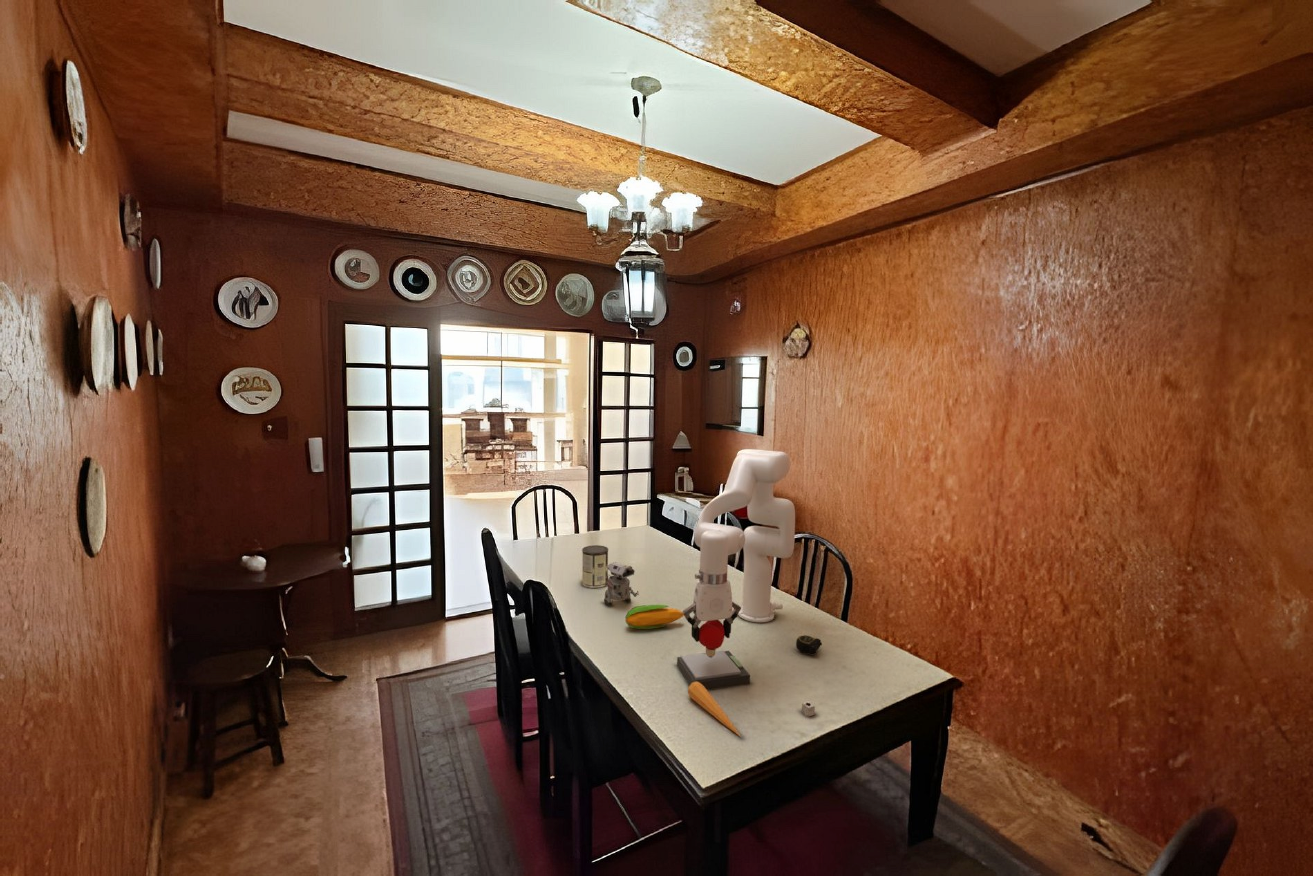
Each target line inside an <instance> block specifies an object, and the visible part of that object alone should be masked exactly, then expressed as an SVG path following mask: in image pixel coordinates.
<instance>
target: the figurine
mask: <svg viewBox="0 0 1313 876" xmlns="http://www.w3.org/2000/svg"><path fill="white" fill-rule="evenodd" d="M607 569H608V571H609V572H610V575H609V574H608V575H607V576H606V578H605V579H606V580H605V585H606V586H607V589H606V590H605V591H604V599H603V602H604V604H605V605H607V606H608V607H611V606H613V602H612V601H616V602H617V601H618V602H619V601H625V602H626V603H631V602H632V598H631V594H632V595H633V597H634V598H636V597H637V596H639V595H640V594H639V591H638V590H637V591H636V592H635V591H634V590H633V589H632V587H631V586H630V583H631V580H630V579H629V577H631V576H634V575H635V569H634V568H633V567H632V566H631V565H626V564H624V563H623V564H622V563H619V562H616V561H614V562H611V563H608V566H607Z"/></svg>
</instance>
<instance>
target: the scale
mask: <svg viewBox="0 0 1313 876" xmlns="http://www.w3.org/2000/svg"><path fill="white" fill-rule="evenodd" d="M676 658H677V659H676V666H677V668H678V669H679V671H680V672H681V674H682V675H683V677H684V678H685V681H686V682H687V683H688V685H689V686H690V685H691V684H692V683H693V682H696V681H697V682H699V683H701V684H702V685H703V686H704V687H705V688H706V690H707V691H708V690H709V691H710V690H715V689H716V690H717V689H723V688H728V687H735V686H736V687H737V686H743V685H750V684H751V674H750V673H749V671H747V669H746V668H745V667H744V665H743V664H742V663H741V662H740V661H739V659H738V658H737V657H736V656H735V655H733V653H731V651H730V650H717V651H716V650H715V656H713V657H711V658H710V657H708V656H707V655H706V652H701V653H693V654H685V655H684V654H683V655H680V656H677V657H676Z"/></svg>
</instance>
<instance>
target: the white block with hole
mask: <svg viewBox="0 0 1313 876" xmlns="http://www.w3.org/2000/svg"><path fill="white" fill-rule="evenodd" d="M815 709H816V706H815V704H812V702H810V701H809V700H808V701H806V702H803V703H801V713H802V714H804V715H805V716H806V717H811V716H815V711H816V710H815Z"/></svg>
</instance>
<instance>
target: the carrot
mask: <svg viewBox="0 0 1313 876" xmlns="http://www.w3.org/2000/svg"><path fill="white" fill-rule="evenodd" d="M687 694H688V697H690V698H691V699H692V700H693V701H694V702H696V704H698V705H699V706H701V707H702V708H703V709H704V710H705V711H707V712H708V713H709V714H710V715H712V716H713V717H714V718H715V719H716V720H718V721H719V722H720V723H721V724H723V725H724V726H725V727H727V728H728V730H729V729H730V730H731V731H732V732H734V733H735V734H736V735H738V736H739V737H741V735H740V732H739V731H738V729H736V727H735V726H734V724H733V723H732V721H731V720H730V718H729V717H728V716H727V715H726V713H725V712H724V710H723V709H722V708H721V706H720V705H719V703H717V701H716V700H715V699H714V698H713V696H712V694H711V693H710V692H709V691H708V690H706V688H705V687H704V686H703V685H702V684H701V683H699V682H697V681H696V682H693V683H692V684H691V685H690V684H689V686H688V689H687Z"/></svg>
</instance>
